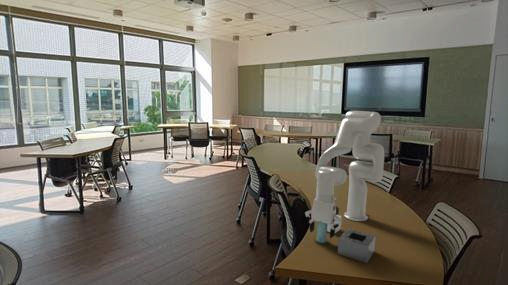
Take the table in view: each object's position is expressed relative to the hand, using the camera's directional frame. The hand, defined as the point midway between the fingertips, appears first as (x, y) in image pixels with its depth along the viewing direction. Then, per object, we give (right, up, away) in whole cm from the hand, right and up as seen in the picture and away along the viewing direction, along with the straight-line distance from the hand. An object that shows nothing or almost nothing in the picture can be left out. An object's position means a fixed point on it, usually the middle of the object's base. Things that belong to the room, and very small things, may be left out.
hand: (321, 233), depth 140 cm
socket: (+13, -5, -9) cm, 16 cm away
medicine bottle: (+7, -2, +13) cm, 16 cm away
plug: (0, -3, +1) cm, 3 cm away
